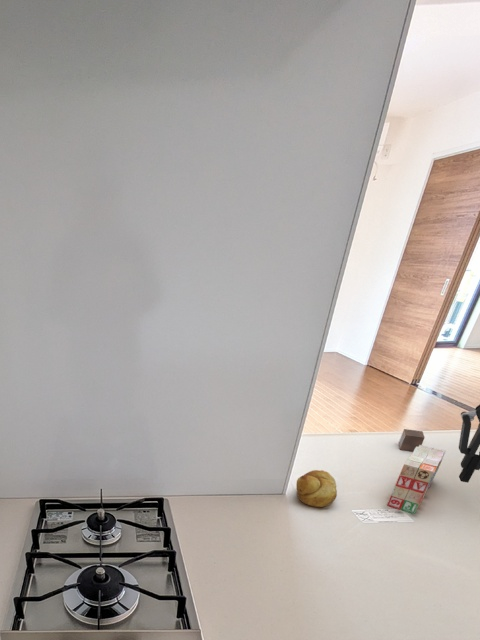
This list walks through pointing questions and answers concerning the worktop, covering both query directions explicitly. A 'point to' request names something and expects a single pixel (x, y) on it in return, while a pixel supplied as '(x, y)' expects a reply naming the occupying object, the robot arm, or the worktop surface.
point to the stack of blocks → (416, 478)
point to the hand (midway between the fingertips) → (463, 479)
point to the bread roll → (316, 488)
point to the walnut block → (411, 439)
